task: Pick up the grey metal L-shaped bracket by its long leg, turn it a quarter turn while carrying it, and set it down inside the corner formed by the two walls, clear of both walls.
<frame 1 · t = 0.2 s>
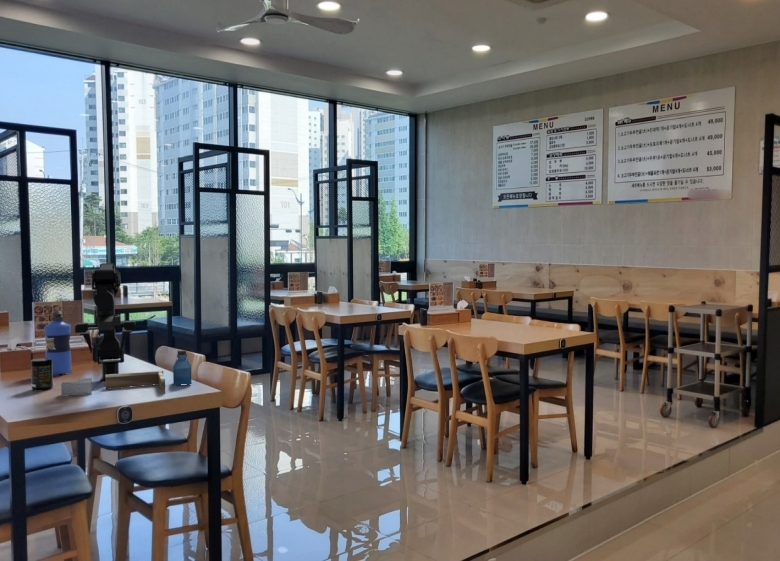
hand: (106, 352, 219), 14 cm above the table, tool pointing down, fingers open, 9 cm apart
tan l-shaped wall: (135, 390, 223), on the table
blue corked bottle: (182, 384, 235), on the table
bracket: (85, 392, 221), on the table
water bottle: (58, 373, 257), on the table
supplement container: (42, 389, 227), on the table
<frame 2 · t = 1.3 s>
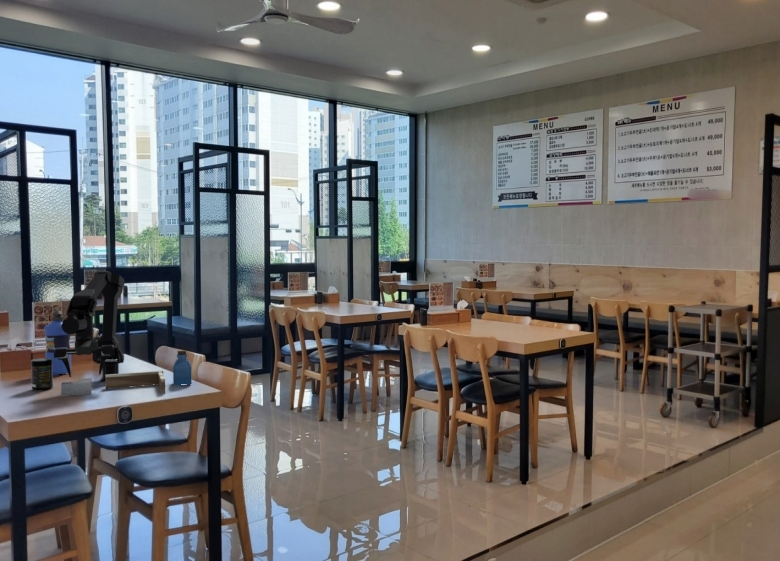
hand: (85, 375, 223), 5 cm above the table, tool pointing down, fingers open, 9 cm apart
nothing on the table moved.
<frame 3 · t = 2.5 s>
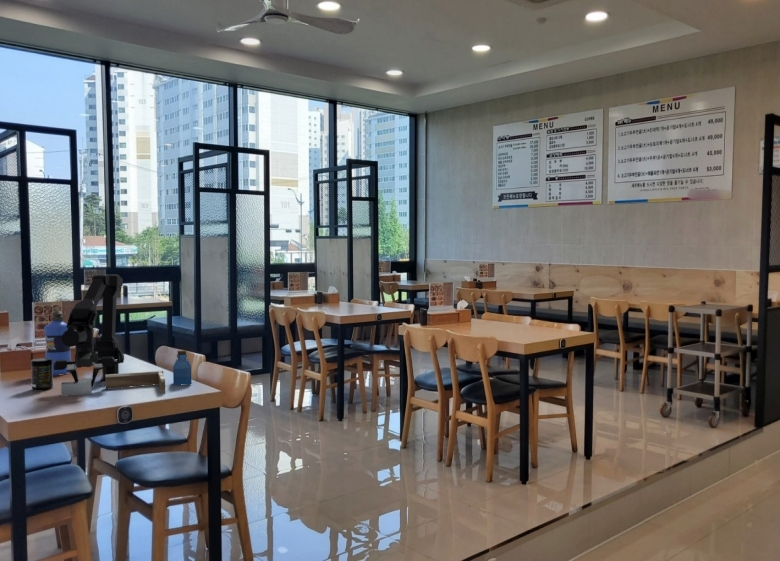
hand: (85, 387, 223), 1 cm above the table, tool pointing down, fingers closed on bracket, 4 cm apart
bracket: (85, 392, 221), on the table, touching gripper
everything else where it was.
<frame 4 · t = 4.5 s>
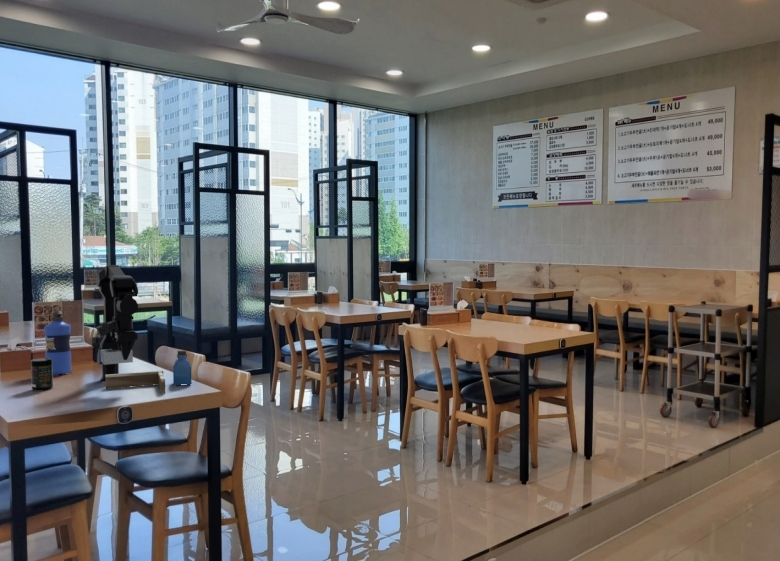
hand: (124, 359, 220), 11 cm above the table, tool pointing down, fingers closed on bracket, 4 cm apart
bracket: (117, 362, 219), point 10 cm above the table, touching gripper
everything else where it was.
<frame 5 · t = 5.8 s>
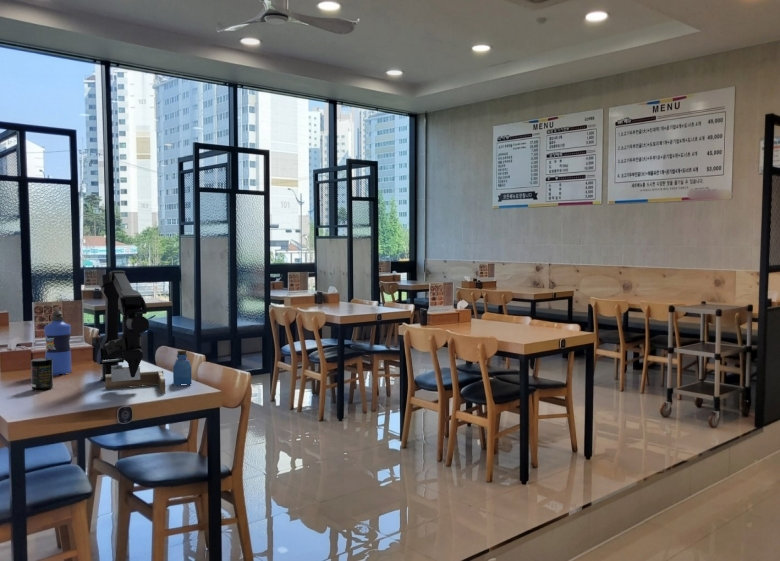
hand: (132, 376, 221), 5 cm above the table, tool pointing down, fingers closed on bracket, 4 cm apart
bracket: (125, 379, 220), point 4 cm above the table, touching gripper
everything else where it was.
when the fingers open (2 cm above the table, at t = 6.8 s): bracket stays where it is, on the table.
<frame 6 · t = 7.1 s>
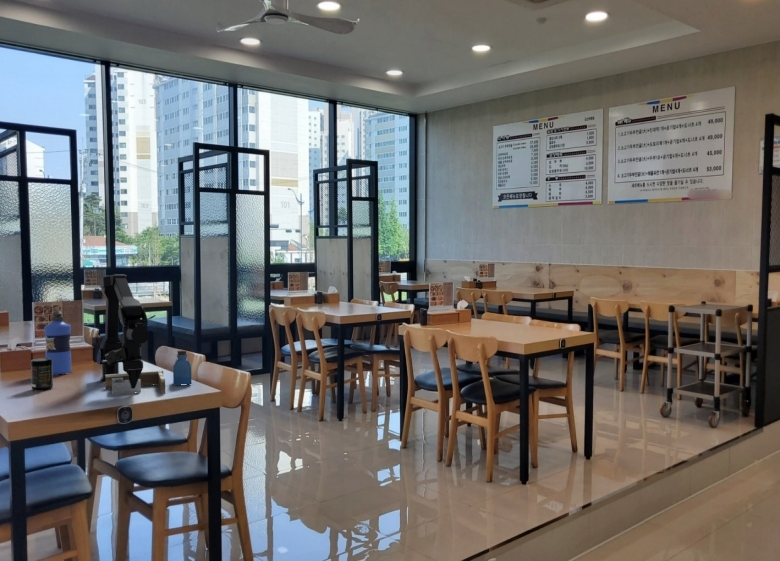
hand: (132, 386, 221), 2 cm above the table, tool pointing down, fingers open, 8 cm apart
bracket: (126, 392, 220), on the table
everything else where it was.
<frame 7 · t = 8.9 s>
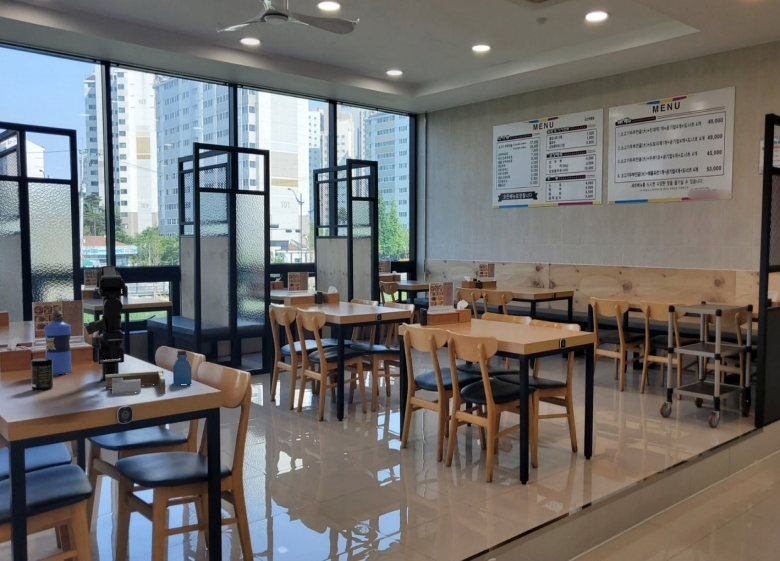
hand: (112, 356, 225), 11 cm above the table, tool pointing down, fingers open, 9 cm apart
nothing on the table moved.
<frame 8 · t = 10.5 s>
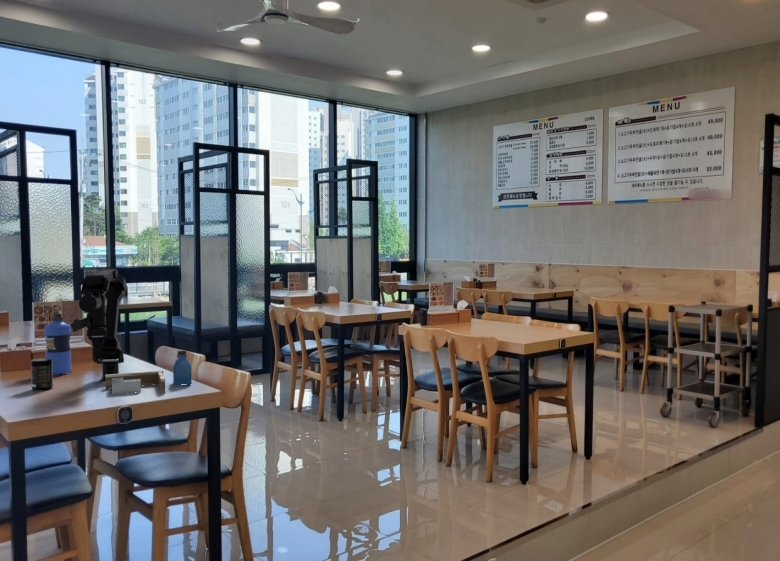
hand: (97, 354, 228), 12 cm above the table, tool pointing down, fingers open, 9 cm apart
nothing on the table moved.
at the end: bracket inside the target area (2.0 cm from its centre), on the table; bracket touching table; the gripper is holding nothing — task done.
